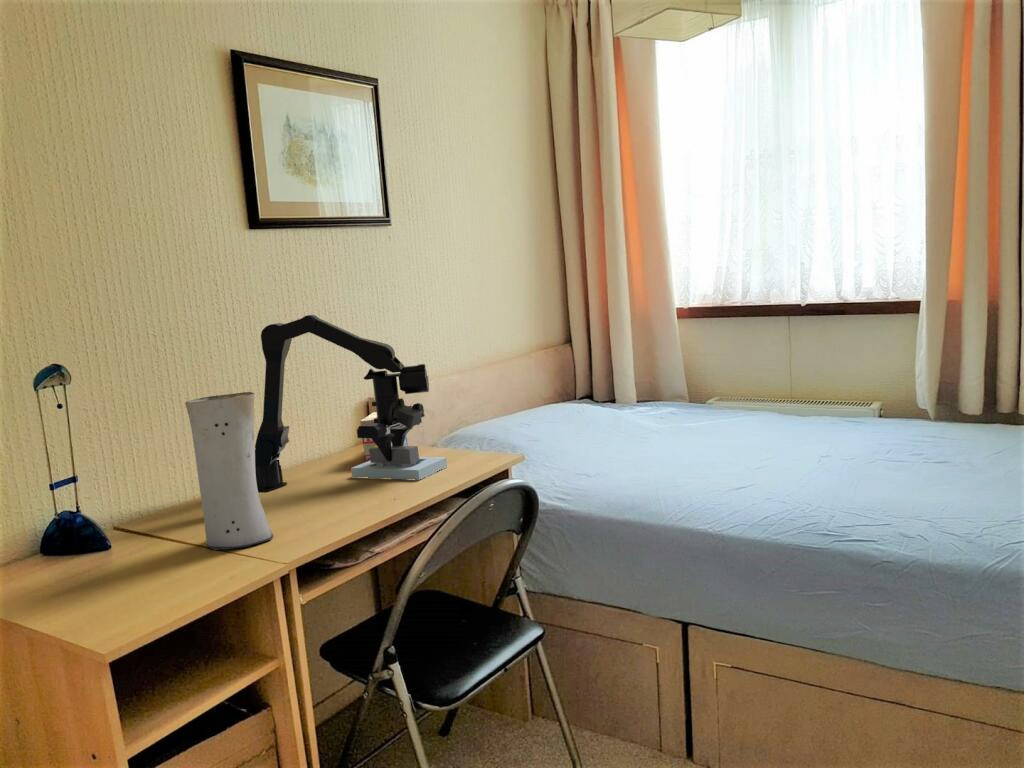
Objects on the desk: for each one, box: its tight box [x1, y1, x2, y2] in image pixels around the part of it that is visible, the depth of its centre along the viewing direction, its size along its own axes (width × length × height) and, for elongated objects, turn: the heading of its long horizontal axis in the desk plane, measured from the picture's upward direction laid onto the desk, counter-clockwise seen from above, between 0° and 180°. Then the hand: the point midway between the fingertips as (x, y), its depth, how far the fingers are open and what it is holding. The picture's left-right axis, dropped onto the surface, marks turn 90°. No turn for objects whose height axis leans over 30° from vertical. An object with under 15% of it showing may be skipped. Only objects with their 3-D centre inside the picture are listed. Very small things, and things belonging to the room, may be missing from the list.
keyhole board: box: [351, 456, 448, 481], centre depth 191 cm, size 20×12×2 cm, turn 62°
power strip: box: [369, 445, 420, 467], centre depth 189 cm, size 12×4×6 cm, turn 62°
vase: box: [184, 391, 274, 552], centre depth 147 cm, size 13×14×28 cm
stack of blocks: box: [359, 411, 409, 463], centre depth 212 cm, size 21×6×12 cm, turn 174°
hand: (394, 459), depth 189 cm, fingers closed on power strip, 3 cm apart
